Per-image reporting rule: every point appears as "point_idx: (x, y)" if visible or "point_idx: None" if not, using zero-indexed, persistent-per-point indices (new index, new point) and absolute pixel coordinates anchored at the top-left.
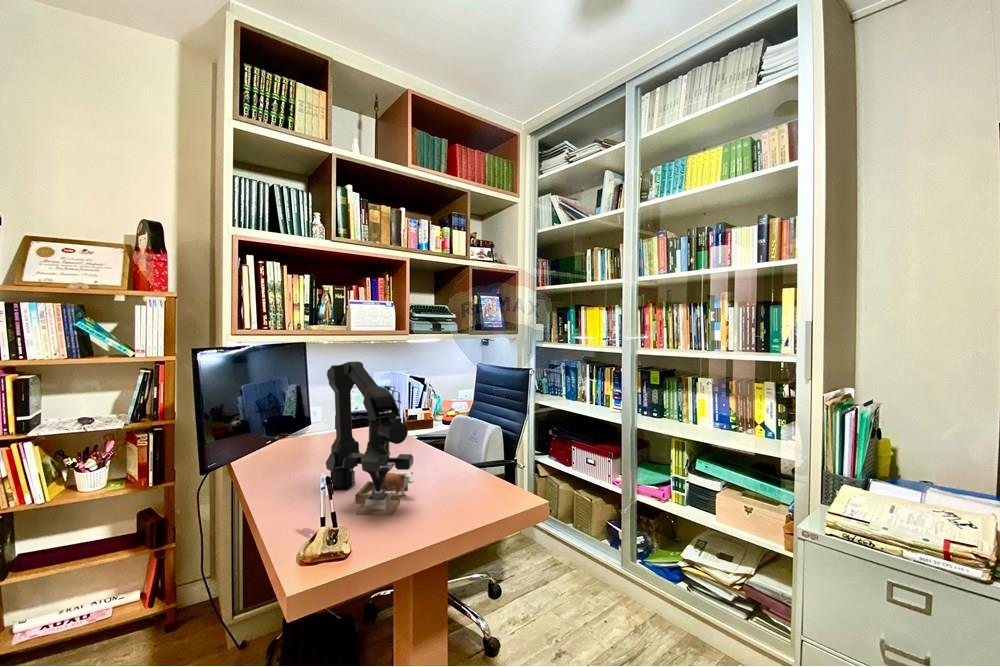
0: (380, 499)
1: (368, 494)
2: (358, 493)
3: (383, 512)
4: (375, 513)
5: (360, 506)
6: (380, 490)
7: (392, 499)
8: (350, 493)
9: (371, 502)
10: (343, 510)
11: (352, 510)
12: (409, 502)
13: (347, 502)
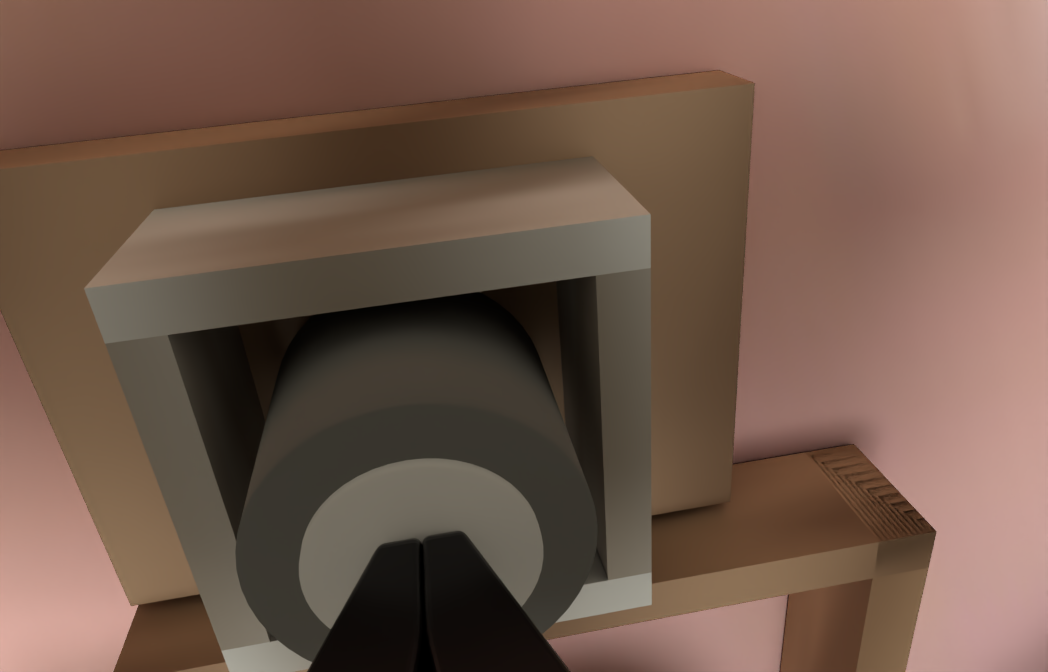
0: (304, 370)
1: (715, 589)
2: (894, 579)
3: (166, 140)
4: (348, 119)
5: (724, 248)
6: None
7: None
8: (978, 653)
9: (478, 220)
10: (974, 184)
11: (830, 211)
12: (21, 646)
13: (967, 440)
